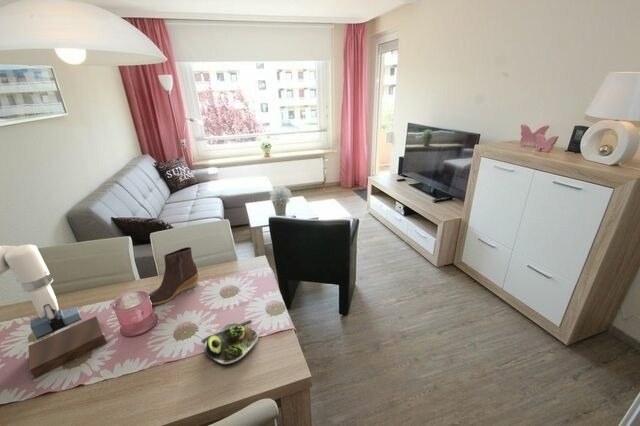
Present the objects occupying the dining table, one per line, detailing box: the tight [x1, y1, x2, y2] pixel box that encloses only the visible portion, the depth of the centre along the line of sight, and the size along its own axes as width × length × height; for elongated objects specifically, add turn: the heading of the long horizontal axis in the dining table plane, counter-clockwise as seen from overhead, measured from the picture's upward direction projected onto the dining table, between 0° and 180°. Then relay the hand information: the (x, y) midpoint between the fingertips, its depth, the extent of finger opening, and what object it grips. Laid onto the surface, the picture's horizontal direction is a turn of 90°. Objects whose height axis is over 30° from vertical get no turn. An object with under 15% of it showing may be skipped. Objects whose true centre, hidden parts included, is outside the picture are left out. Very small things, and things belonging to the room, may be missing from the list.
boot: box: [148, 246, 199, 306], centre depth 129 cm, size 9×24×20 cm, turn 134°
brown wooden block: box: [28, 315, 108, 379], centre depth 105 cm, size 20×14×4 cm
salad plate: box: [200, 319, 259, 367], centre depth 104 cm, size 19×18×5 cm
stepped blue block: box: [29, 305, 83, 340], centre depth 101 cm, size 12×5×5 cm, turn 134°
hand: (58, 324), depth 101 cm, fingers closed on stepped blue block, 5 cm apart
